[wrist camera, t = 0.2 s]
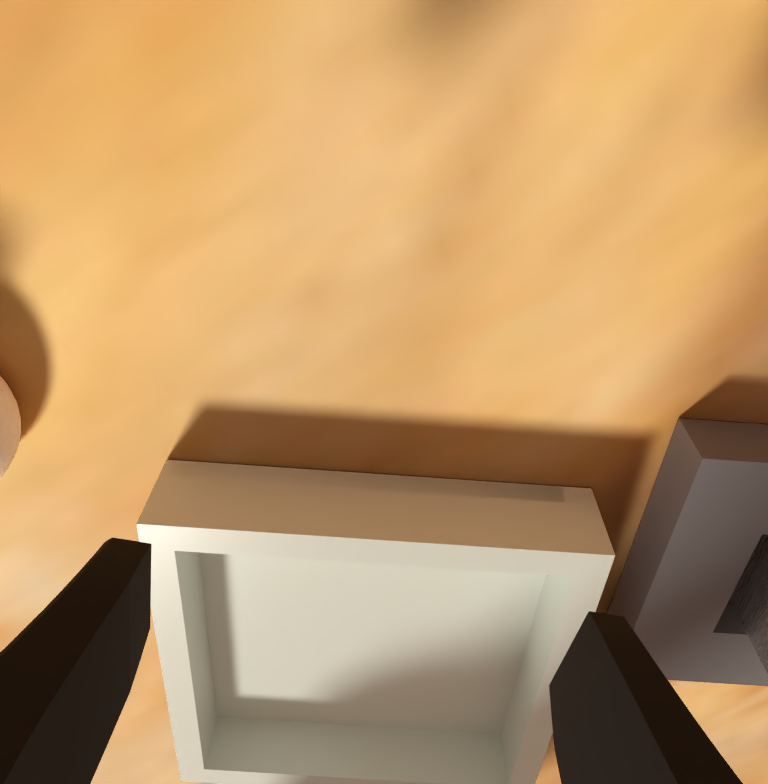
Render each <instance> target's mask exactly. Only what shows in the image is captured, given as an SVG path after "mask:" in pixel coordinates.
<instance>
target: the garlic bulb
mask: <svg viewBox="0 0 768 784" xmlns="http://www.w3.org/2000/svg"><path fill="white" fill-rule="evenodd" d="M20 436H21V417H20V412H19V409H18V405H17V401H16V400H15V398H14V396H13V393H12V392H11V390H10V388H9V386H8V385H7V383H6V382H5V381H4V380H3V379H2V377H1V376H0V478H1V477H2V475H3V474H4V473H5V472H6V470H7V469H8V467H9V465H10V464H11V462H12V460H13V458H14V456H15V454H16V452H17V448H18V445H19V441H20Z"/></svg>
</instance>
